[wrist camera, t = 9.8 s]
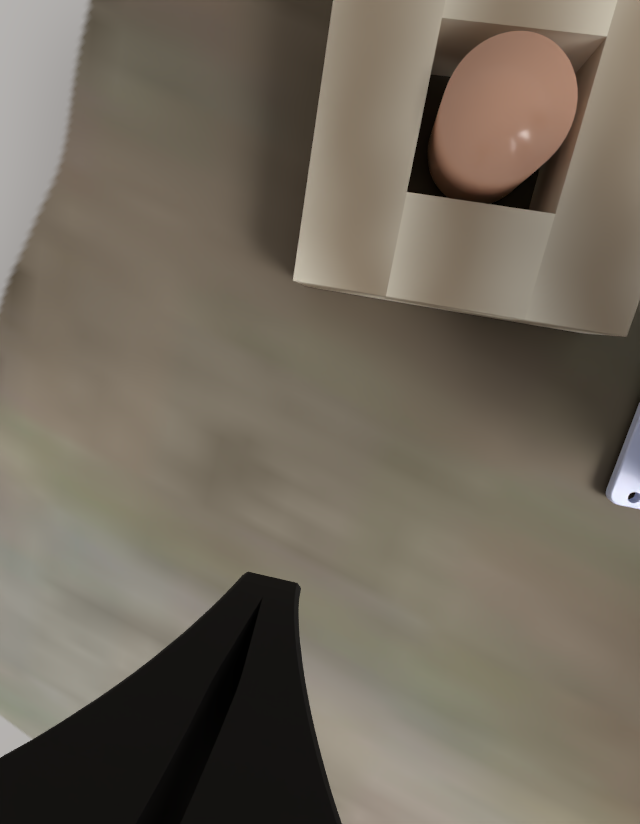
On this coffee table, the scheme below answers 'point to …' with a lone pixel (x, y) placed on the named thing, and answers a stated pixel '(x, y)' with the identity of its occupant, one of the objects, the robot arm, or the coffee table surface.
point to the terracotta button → (501, 116)
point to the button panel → (465, 220)
